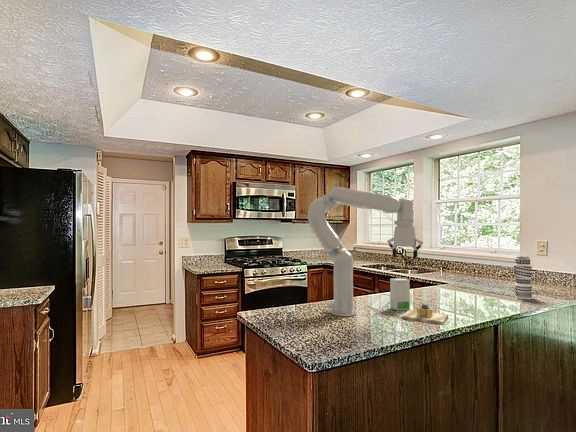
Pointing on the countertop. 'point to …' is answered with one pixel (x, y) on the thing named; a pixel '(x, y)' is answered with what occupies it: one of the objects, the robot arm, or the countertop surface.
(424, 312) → the ring
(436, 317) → the beige flat block
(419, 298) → the countertop surface
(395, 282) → the skincare box
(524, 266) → the decorative candle
